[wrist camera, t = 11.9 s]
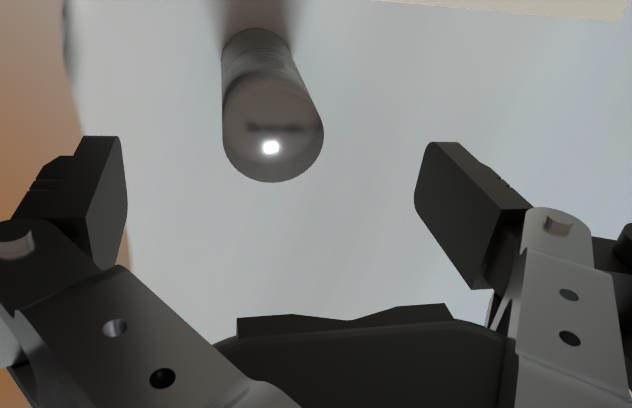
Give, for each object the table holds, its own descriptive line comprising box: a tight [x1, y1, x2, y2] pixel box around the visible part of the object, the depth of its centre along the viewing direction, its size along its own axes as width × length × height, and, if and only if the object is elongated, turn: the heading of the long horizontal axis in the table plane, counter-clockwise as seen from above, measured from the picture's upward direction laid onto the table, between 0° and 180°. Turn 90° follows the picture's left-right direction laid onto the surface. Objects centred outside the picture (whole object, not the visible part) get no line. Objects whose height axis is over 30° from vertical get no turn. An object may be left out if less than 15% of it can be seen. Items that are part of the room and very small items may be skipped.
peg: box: [221, 28, 324, 183], centre depth 18 cm, size 3×3×8 cm
